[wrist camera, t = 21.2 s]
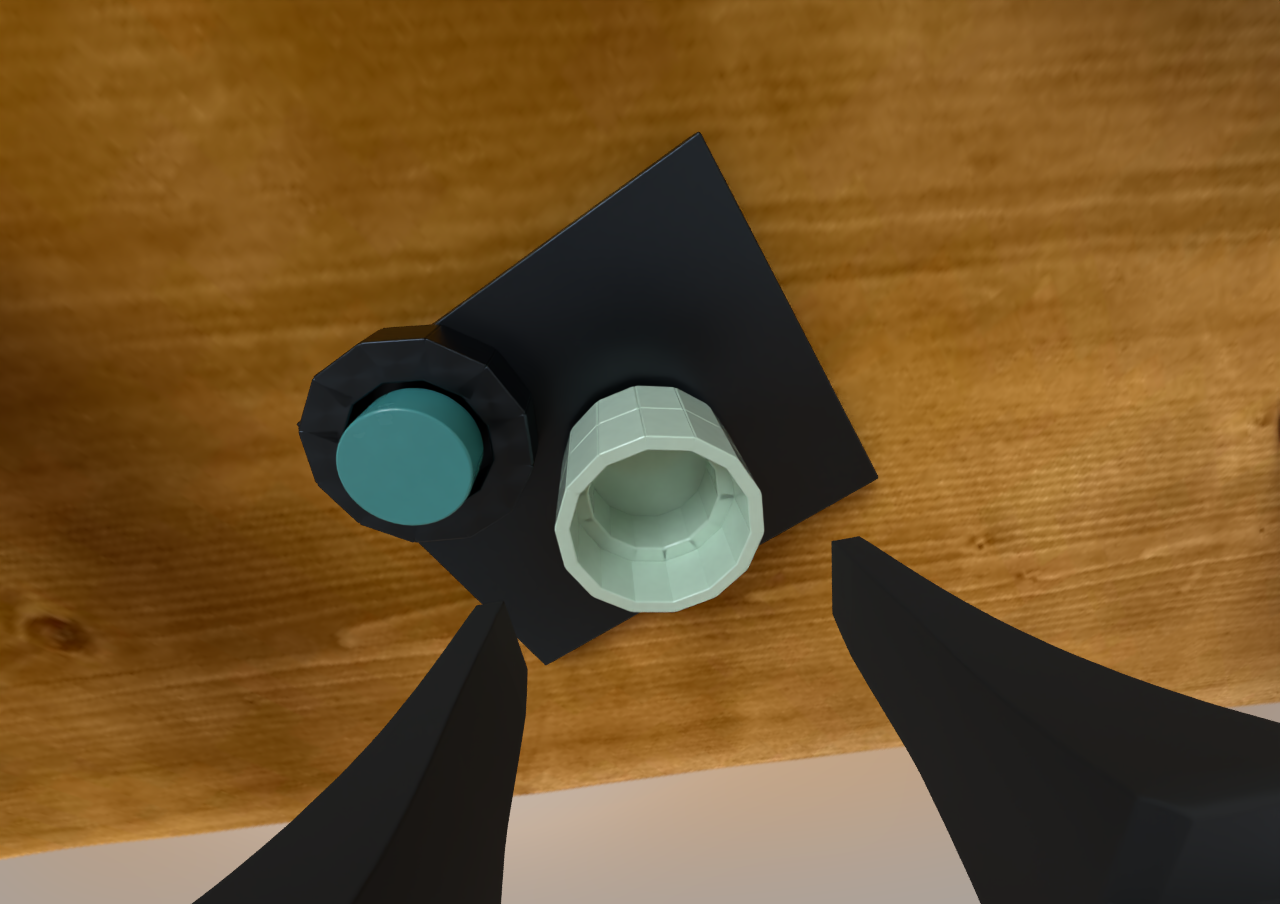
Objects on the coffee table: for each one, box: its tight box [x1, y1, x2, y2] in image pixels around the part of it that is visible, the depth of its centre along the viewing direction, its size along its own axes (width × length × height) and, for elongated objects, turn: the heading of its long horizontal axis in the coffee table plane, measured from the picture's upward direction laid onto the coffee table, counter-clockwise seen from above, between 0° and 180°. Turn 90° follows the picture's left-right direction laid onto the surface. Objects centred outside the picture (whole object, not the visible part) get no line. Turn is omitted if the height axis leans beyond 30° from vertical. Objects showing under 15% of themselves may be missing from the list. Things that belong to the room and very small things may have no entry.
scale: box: [297, 132, 878, 665], centre depth 18 cm, size 15×14×3 cm
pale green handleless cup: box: [555, 386, 764, 612], centre depth 17 cm, size 6×6×4 cm
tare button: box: [336, 388, 484, 526], centre depth 16 cm, size 4×4×2 cm
